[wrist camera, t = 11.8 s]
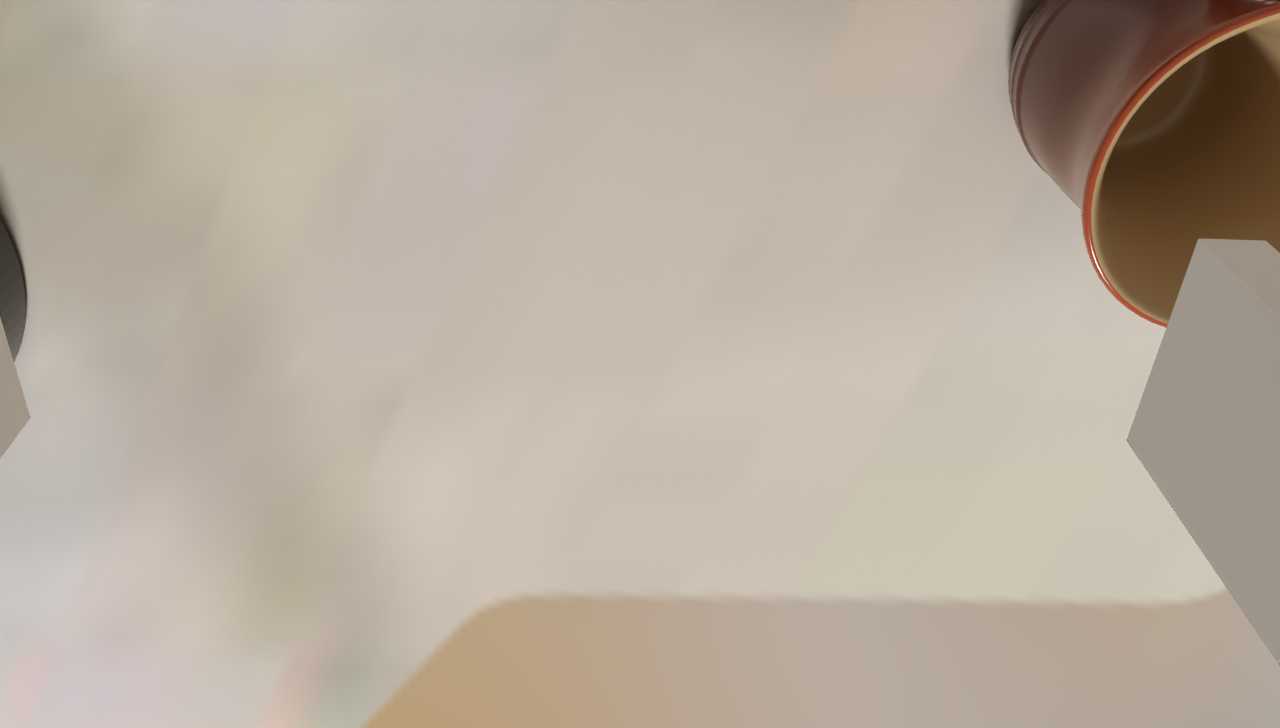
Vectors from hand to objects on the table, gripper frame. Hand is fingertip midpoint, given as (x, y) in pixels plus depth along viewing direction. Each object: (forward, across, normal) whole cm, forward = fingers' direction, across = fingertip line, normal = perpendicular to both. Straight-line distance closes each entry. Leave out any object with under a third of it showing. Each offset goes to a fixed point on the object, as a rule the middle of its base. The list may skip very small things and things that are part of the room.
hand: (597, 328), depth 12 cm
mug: (+25, +17, -2) cm, 30 cm away
